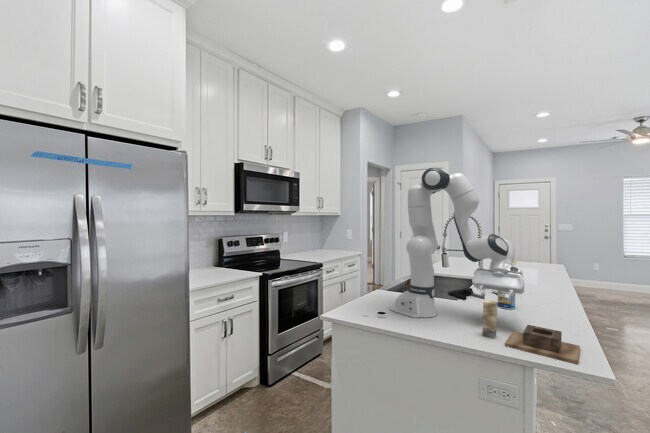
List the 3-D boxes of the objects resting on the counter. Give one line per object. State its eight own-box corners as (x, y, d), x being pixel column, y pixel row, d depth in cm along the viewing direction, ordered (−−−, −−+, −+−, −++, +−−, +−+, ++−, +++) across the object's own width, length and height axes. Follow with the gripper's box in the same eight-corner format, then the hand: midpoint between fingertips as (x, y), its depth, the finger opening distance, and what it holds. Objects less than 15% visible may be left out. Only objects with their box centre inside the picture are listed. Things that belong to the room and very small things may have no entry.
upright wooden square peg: (482, 335, 133) (483, 301, 133) (484, 333, 136) (485, 300, 136) (494, 338, 131) (495, 304, 130) (496, 335, 133) (497, 302, 133)
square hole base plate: (504, 346, 124) (505, 330, 123) (513, 333, 136) (513, 319, 136) (578, 364, 109) (578, 346, 109) (579, 348, 122) (580, 333, 122)
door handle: (491, 294, 191) (467, 286, 205) (468, 298, 181) (445, 290, 195) (490, 299, 192) (467, 291, 205) (468, 304, 182) (445, 295, 196)
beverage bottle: (518, 310, 168) (519, 271, 167) (502, 309, 168) (503, 271, 167) (509, 305, 176) (510, 268, 176) (493, 305, 176) (494, 268, 176)
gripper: (474, 264, 151) (467, 289, 143) (525, 269, 137) (521, 297, 130) (476, 272, 154) (470, 297, 147) (527, 278, 141) (522, 306, 134)
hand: (494, 297), depth 138 cm, fingers open, 8 cm apart
